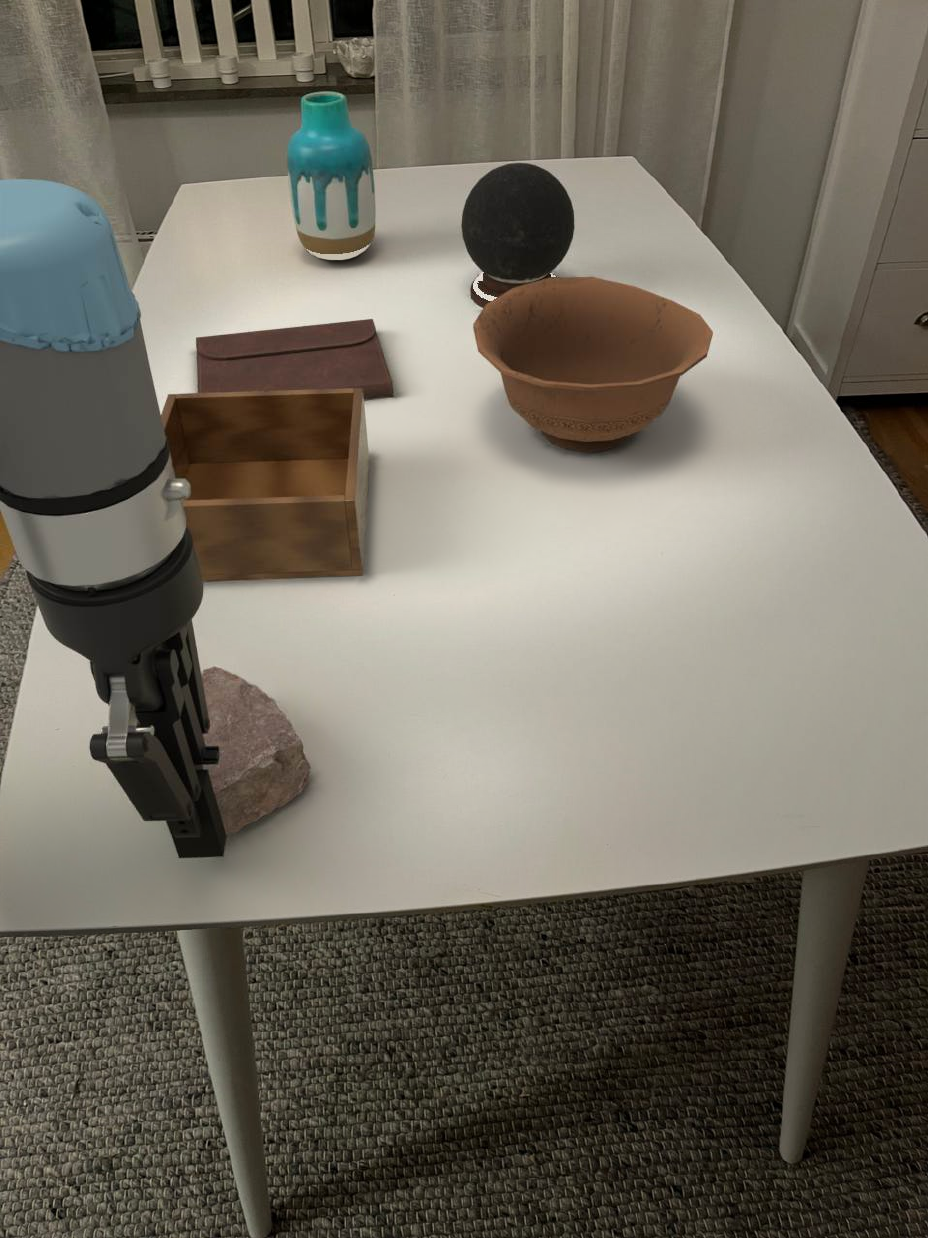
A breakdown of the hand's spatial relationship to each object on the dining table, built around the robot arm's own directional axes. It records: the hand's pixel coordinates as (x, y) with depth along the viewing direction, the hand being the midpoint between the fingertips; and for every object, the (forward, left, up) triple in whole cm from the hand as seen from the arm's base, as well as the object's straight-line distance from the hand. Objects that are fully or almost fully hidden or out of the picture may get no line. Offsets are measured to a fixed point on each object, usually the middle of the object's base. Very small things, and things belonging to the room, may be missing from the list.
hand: (203, 847), depth 63 cm
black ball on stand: (+26, +81, -2) cm, 85 cm away
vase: (+3, +94, -2) cm, 94 cm away
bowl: (+30, +49, -2) cm, 58 cm away
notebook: (0, +62, -2) cm, 62 cm away
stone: (0, +7, -2) cm, 8 cm away
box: (0, +36, -2) cm, 36 cm away
